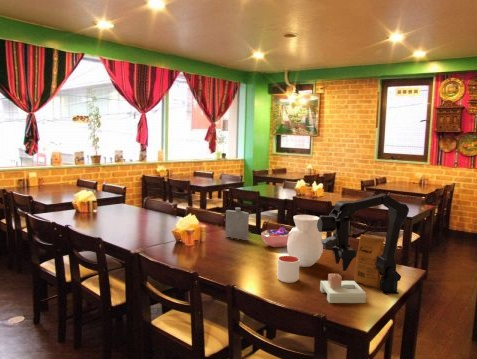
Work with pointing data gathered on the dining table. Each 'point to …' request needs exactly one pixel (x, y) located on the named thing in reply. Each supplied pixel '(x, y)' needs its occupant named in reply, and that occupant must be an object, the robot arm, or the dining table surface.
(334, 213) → the robot arm
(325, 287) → the keyhole plate
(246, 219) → the hip flask
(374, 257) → the coffee package
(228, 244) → the dining table surface
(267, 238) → the cell model
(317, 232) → the white vase
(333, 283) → the peg
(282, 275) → the cup
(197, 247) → the dining table surface
